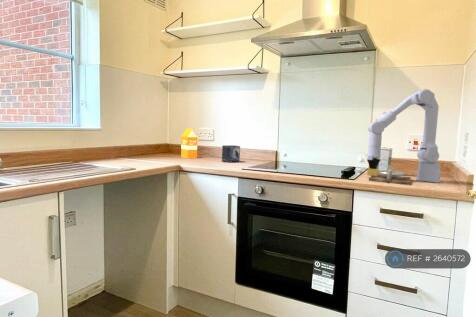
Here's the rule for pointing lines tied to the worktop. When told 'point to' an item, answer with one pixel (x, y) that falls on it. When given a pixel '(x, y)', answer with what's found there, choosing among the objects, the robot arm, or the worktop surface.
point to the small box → (230, 153)
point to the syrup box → (385, 159)
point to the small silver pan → (383, 172)
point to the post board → (391, 179)
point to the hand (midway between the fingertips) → (372, 173)
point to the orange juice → (189, 144)
